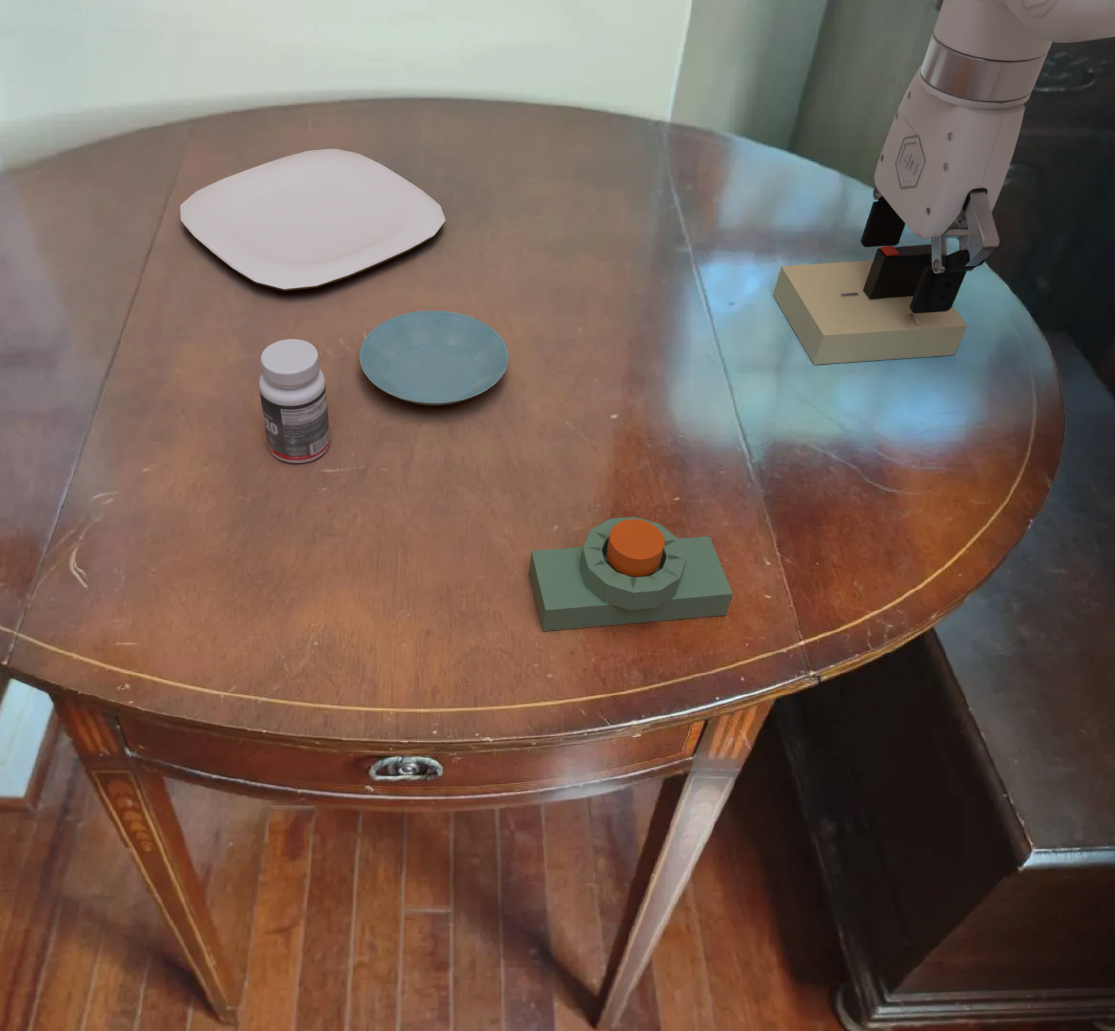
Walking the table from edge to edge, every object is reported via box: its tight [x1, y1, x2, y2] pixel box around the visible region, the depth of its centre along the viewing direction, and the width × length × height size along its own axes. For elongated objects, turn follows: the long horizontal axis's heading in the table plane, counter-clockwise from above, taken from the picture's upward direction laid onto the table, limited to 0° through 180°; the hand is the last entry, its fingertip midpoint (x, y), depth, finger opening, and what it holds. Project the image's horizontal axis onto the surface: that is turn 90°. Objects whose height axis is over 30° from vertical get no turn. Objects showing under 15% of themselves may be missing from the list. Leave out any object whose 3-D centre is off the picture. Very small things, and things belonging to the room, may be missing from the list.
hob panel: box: [772, 259, 968, 366], centre depth 88 cm, size 13×10×3 cm
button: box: [606, 519, 665, 577], centre depth 66 cm, size 3×3×2 cm
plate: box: [179, 148, 447, 292], centre depth 100 cm, size 22×22×2 cm
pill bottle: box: [258, 338, 331, 464], centre depth 76 cm, size 5×5×8 cm
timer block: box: [528, 516, 734, 632], centre depth 67 cm, size 12×6×4 cm, turn 96°
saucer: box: [358, 310, 510, 406], centre depth 84 cm, size 12×12×2 cm
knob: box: [863, 243, 932, 299], centre depth 86 cm, size 5×1×4 cm, turn 98°
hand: (902, 276), depth 86 cm, fingers open, 9 cm apart
